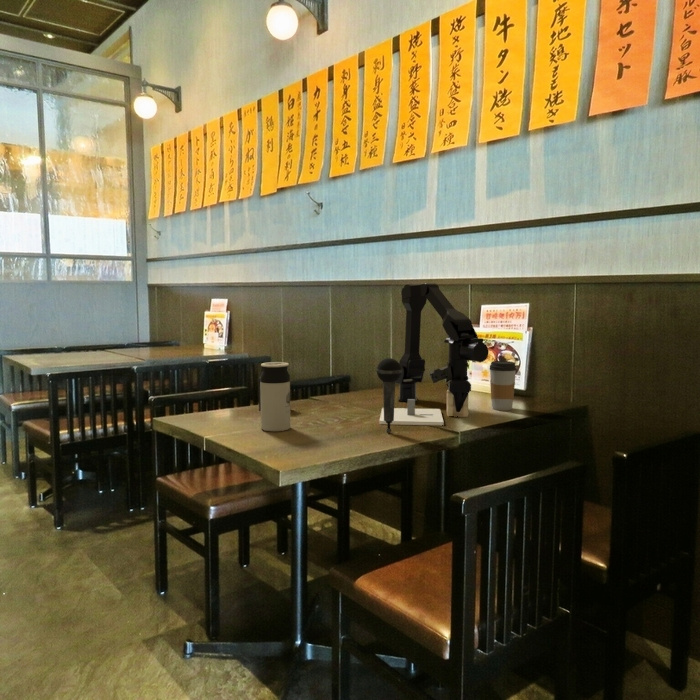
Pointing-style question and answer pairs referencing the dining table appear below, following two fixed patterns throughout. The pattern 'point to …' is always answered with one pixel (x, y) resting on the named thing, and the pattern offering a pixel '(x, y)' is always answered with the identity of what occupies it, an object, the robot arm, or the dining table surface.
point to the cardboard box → (452, 409)
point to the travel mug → (275, 396)
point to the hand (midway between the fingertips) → (457, 409)
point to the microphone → (389, 386)
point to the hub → (414, 416)
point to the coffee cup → (502, 384)
